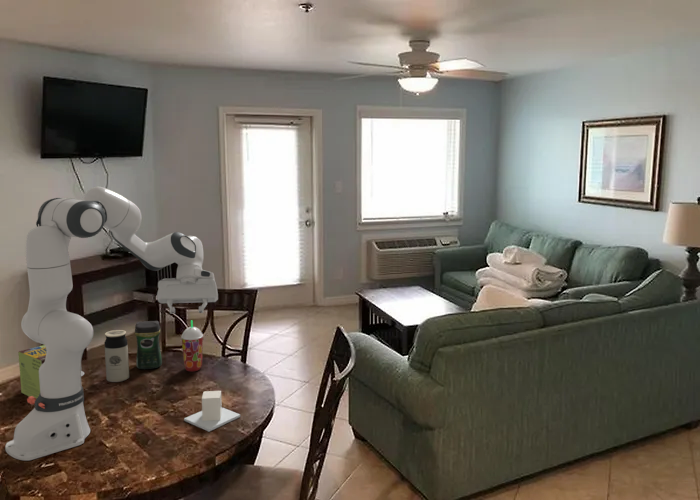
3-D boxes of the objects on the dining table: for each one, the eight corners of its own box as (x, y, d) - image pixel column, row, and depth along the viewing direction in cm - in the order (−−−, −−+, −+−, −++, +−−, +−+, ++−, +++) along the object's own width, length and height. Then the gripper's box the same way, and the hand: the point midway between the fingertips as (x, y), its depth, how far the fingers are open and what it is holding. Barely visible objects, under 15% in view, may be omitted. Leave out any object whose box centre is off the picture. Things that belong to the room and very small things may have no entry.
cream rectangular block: (220, 419, 185) (219, 397, 184) (202, 420, 184) (201, 398, 183) (221, 412, 190) (221, 390, 189) (204, 413, 190) (203, 391, 188)
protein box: (44, 404, 197) (41, 360, 194) (20, 393, 205) (17, 351, 202) (73, 393, 205) (70, 351, 203) (49, 383, 214) (46, 343, 211)
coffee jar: (163, 362, 237) (161, 318, 234) (160, 369, 229) (159, 323, 226) (138, 363, 235) (136, 319, 232) (135, 370, 227) (132, 325, 224)
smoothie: (198, 363, 236) (197, 316, 233) (207, 369, 229) (206, 320, 226) (178, 368, 231) (177, 319, 227) (187, 374, 224) (186, 324, 221)
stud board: (208, 431, 179) (208, 414, 178) (184, 420, 186) (183, 403, 185) (240, 416, 189) (240, 400, 188) (215, 406, 196) (215, 390, 195)
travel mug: (112, 374, 223) (109, 329, 220) (132, 374, 223) (130, 329, 220) (102, 382, 215) (100, 335, 212) (123, 383, 215) (121, 336, 212)
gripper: (157, 273, 200) (153, 308, 192) (217, 272, 203) (216, 307, 195) (160, 283, 205) (156, 317, 197) (219, 282, 208) (217, 316, 200)
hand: (186, 312), depth 196 cm, fingers open, 8 cm apart
